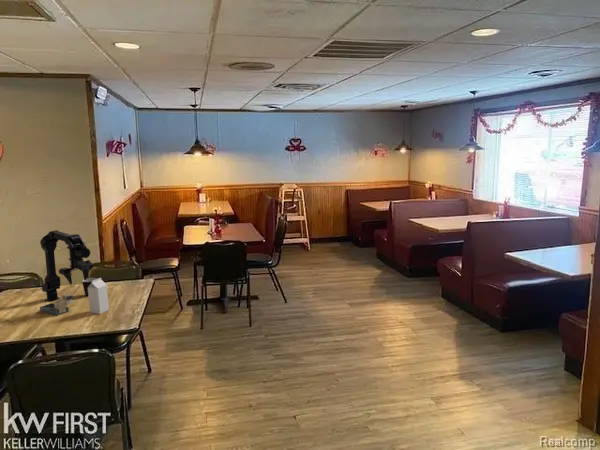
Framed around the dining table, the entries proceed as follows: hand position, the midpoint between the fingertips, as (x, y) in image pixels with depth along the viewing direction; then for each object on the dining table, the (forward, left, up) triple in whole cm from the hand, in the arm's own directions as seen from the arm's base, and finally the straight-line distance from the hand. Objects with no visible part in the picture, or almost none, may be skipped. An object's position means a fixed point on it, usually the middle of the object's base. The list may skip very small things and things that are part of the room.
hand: (78, 282), depth 270 cm
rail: (-5, -13, -15) cm, 20 cm away
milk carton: (+19, -1, -15) cm, 24 cm away
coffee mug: (-14, +18, -15) cm, 27 cm away
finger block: (-11, -1, -15) cm, 19 cm away
